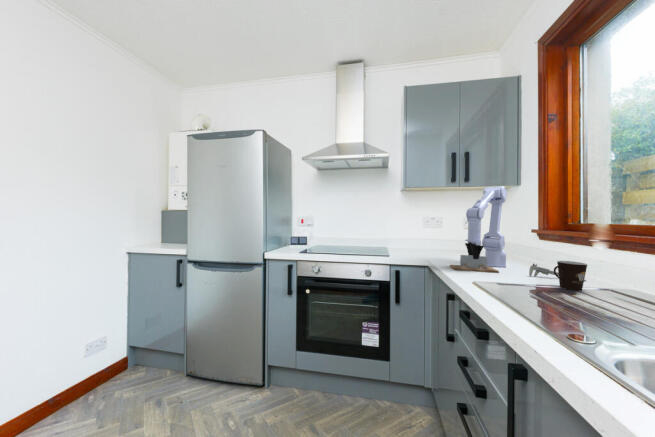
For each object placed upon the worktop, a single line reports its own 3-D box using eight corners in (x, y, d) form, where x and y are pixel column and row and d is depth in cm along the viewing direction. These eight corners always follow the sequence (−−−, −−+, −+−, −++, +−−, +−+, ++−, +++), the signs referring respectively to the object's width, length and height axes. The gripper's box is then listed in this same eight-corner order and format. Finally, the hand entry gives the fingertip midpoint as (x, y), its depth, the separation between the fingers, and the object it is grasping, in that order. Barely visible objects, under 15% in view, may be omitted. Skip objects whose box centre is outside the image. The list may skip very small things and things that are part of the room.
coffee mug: (577, 286, 107) (578, 261, 107) (592, 292, 98) (593, 265, 98) (542, 283, 110) (543, 259, 110) (554, 289, 102) (555, 263, 101)
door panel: (485, 268, 136) (485, 256, 136) (487, 268, 135) (487, 256, 134) (460, 266, 139) (460, 254, 139) (461, 267, 137) (461, 255, 137)
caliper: (529, 276, 125) (530, 263, 125) (529, 276, 126) (529, 262, 126) (586, 282, 117) (587, 267, 117) (585, 281, 118) (586, 267, 118)
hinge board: (490, 268, 140) (491, 262, 140) (498, 272, 130) (499, 266, 130) (449, 266, 144) (449, 260, 144) (454, 270, 134) (454, 263, 134)
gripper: (461, 230, 144) (461, 255, 145) (470, 231, 130) (469, 259, 131) (476, 230, 143) (475, 256, 143) (486, 232, 129) (485, 260, 129)
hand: (473, 257), depth 137 cm, fingers open, 7 cm apart
